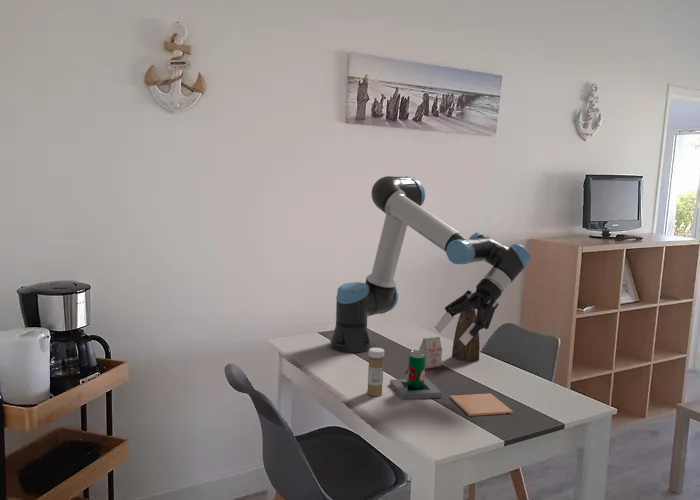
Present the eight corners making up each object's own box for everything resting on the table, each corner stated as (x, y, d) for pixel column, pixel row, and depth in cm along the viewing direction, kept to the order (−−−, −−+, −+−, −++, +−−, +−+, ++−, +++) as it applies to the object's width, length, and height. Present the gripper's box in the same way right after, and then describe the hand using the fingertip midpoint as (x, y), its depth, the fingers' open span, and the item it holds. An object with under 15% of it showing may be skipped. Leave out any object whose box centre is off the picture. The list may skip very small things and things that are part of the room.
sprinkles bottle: (384, 392, 170) (386, 348, 168) (379, 397, 165) (382, 352, 164) (369, 389, 171) (371, 346, 169) (364, 395, 167) (366, 350, 165)
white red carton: (418, 365, 195) (420, 337, 194) (434, 363, 198) (436, 335, 197) (424, 368, 192) (426, 340, 191) (440, 366, 195) (442, 338, 194)
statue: (461, 362, 200) (465, 292, 198) (449, 357, 206) (452, 288, 204) (481, 360, 203) (485, 291, 201) (468, 355, 210) (472, 287, 208)
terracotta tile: (450, 397, 168) (450, 395, 168) (490, 395, 171) (490, 393, 171) (469, 416, 155) (469, 413, 155) (512, 413, 158) (512, 411, 158)
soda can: (422, 394, 169) (425, 355, 167) (405, 392, 170) (408, 353, 168) (424, 388, 174) (426, 350, 172) (407, 386, 175) (409, 348, 173)
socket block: (389, 384, 176) (390, 379, 176) (426, 382, 179) (426, 377, 179) (402, 399, 165) (402, 394, 165) (441, 397, 168) (441, 392, 167)
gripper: (526, 302, 169) (480, 356, 164) (475, 286, 191) (434, 333, 187) (513, 285, 166) (466, 339, 162) (462, 270, 188) (421, 318, 184)
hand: (449, 336), depth 174 cm, fingers open, 13 cm apart
